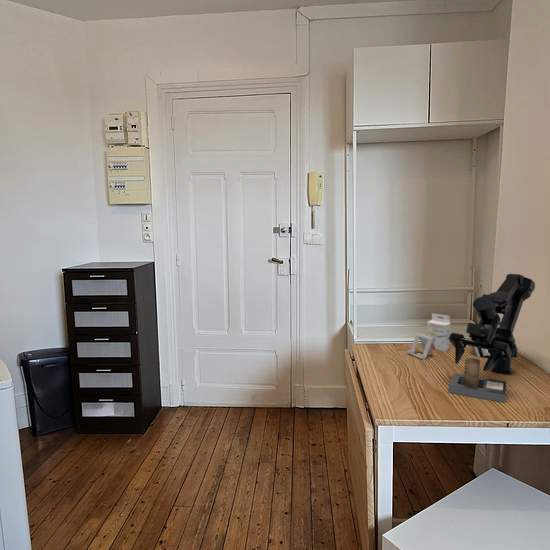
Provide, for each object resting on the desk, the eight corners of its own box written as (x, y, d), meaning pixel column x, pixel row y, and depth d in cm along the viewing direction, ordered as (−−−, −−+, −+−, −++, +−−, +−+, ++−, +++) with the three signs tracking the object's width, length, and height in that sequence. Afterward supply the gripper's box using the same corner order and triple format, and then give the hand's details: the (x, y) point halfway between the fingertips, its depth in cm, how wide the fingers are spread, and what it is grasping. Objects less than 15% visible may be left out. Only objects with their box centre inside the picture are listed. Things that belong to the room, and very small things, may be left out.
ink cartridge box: (425, 347, 181) (426, 314, 179) (430, 345, 185) (431, 312, 183) (445, 351, 175) (446, 317, 173) (449, 349, 179) (451, 315, 177)
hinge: (490, 358, 166) (482, 334, 166) (478, 360, 168) (470, 337, 169) (492, 347, 180) (485, 325, 181) (481, 349, 183) (473, 327, 183)
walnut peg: (462, 386, 139) (463, 357, 138) (477, 387, 138) (478, 358, 137) (464, 391, 135) (466, 361, 134) (479, 392, 134) (481, 362, 132)
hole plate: (453, 380, 145) (453, 372, 144) (506, 388, 136) (506, 380, 136) (448, 392, 134) (448, 384, 134) (504, 402, 126) (505, 393, 126)
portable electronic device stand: (407, 354, 173) (407, 334, 172) (421, 351, 176) (422, 332, 175) (422, 360, 165) (423, 340, 164) (437, 357, 169) (437, 337, 168)
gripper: (452, 309, 143) (434, 347, 137) (510, 318, 128) (492, 361, 123) (462, 327, 149) (445, 364, 143) (519, 338, 134) (502, 379, 129)
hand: (469, 366), depth 134 cm, fingers open, 9 cm apart
